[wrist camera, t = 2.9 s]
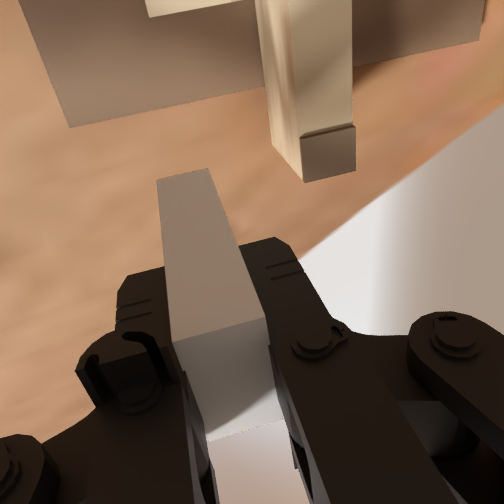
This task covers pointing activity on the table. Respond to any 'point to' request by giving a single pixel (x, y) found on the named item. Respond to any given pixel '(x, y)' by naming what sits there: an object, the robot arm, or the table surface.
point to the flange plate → (302, 79)
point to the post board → (205, 48)
